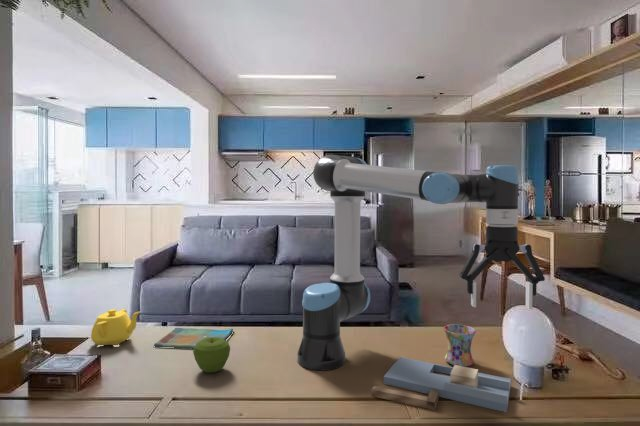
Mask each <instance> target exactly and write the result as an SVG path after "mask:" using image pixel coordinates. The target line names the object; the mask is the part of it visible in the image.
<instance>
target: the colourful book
mask: <svg viewBox="0 0 640 426" xmlns="http://www.w3.org/2000/svg"><path fill="white" fill-rule="evenodd" d="M232 332H234V328H228V329H212V328H191V327H187V328H186V327H175V328H174V329H173V330H171V331H170V332H168V334H166V335H165V336H163V337H162V338H161V339H159V340H158V341H156V342H155V343H154V344H153V347H154V346H155V347H174V348H192V349H191V350H194V347H195V345H196V343H198V342H199V341H201V340H202V339H204V338H208V337H220V338H223V339H224V340H226V339H227V338H228V337H229V336H230V335H231V334H232ZM204 336H206V337H204Z"/></svg>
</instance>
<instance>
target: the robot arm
mask: <svg viewBox="0 0 640 426" xmlns="http://www.w3.org/2000/svg"><path fill="white" fill-rule="evenodd" d="M518 170H519V169H518V167H517V166H515V165H513V164H500V165H499V164H497V165H489V166H487V168H486V171H485V173H480V174H476V173H475V174H459V173H449V172H443V171H428V170H420V169H413V168H412V169H410V168H402V167H392V166H391V167H390V166H381V165H373V164H368V163H366V161H365V160H364V159H362V158H359V157H355V156H349V155H339V154H327V155H324V156H322V157H320V158H319V159H318V160H317V161H316V162H315V164H314V166H313V170H312V172H313V173H312V174H313V179H314V182H315V184H316V185H317V186H318V187H319V188H320V189H322V191H323V190H324V191H327V192H330V193H329V194H330V196H329V197H330V198H331V199H332V200H333V202H334V270H333V271H334V272H333V273H332V274H331V275H330V276H329V282H320V283H314V284H311V285H309V286H307V288H305V289H304V291H303V294H302V301H301V302H302V303H301V305H302V338H301V341H300V344H299V348H298V351H297V364H299V365H300V366H301V367H303V368H306V369H308V370H313V371H328V370H333V369H339V368H340V367H341V366H343V365H345V363H346V350H345V348H344V344H343V342H342V339H341V322H343V321H346V320H348V319H350V318H353V317H357V316H359V315H360V314H361V313H363V312H365V311H366V310H367V308H368V307H369V305H370V302H371V291H370V288H369V287H368V286H367V284H366V282H365V277H364V276H363V274H362V273H361V202H362V201H363V200H364V199H365V197H366V192H367V193H373V194H374V193H375V194H380V195H381V194H382V195H387V196H394V197H395V196H396V197H401V198H406V199H407V198H408V199H414V200H420V201H421V200H422V201H426V202H430V203H433V204H437V205H445V204H457V203H458V204H459V203H485V204H486V205H485V208H486V209H485V210H486V211H485V214H486V215H485V223H486V227H485V243H484V244H478V243H476V242H474V243H472V251H471V252H470V255H469V256H468V258H467V260H466V262H465V264H464V265H463V268H462V269H461V271H460V273H459V277H460V278H461V279H462V280H465V281H466V292H467V293H468V294H469V295H470V305H471V306H472V307H473V308H477V282H476V281H475V280H476V278H477V277H478V276H479V275H480V274H481V273H482V272H483V271H484V270H485V268H486V267H487V266H489V265H490V264H491V263H492V262H493V261H494V262H497V263H500V262H503V263H504V262H506V263H509V262H512V263H513V264H514V265H515V266H516V267H517V268H518V269H519V270H520V272H522V274H523V275H524V277H526V278H527V279H528V281H525V307H526V308H527V309H528V310H533V296H537V284H538V283H540V282H544V281H545V280H546V278H545V276H544V273H543V272H542V270H541V268H540V266H539V263H538V262H537V260H536V258H535V256H534V254H533V250H532V245H531V244H528V243H524V244H522V245H521V244H519V243H518V242H519V241H518V239H519V238H518V236H519V228H518V227H517V226H516V225H518V223H519V216H518V215H519V184H520V182H519V171H518ZM483 250H484V251H485V252H486V254H485V256H483V258H482V260H481V261H480V262H479V263H478V264H477V265H476V266H475V267H474V268H473V269H472V267H473V266H474V264H475V262H476V260H477V258H478V256H479V254H480V253H482V252H483ZM519 252H521V253H523V254H524V256H525V259H526V260H527V262H528V264H529V266H530V268H531V270H532V272H533V273H534V274H532V272H531V271H530V270H529V269H528V268H527V267H526V266H525V264H523V262H522V261H521V260H520V258H518V256H517V254H518V253H519ZM471 269H472V271H471ZM534 275H535V276H534Z"/></svg>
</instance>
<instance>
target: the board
mask: <svg viewBox="0 0 640 426" xmlns="http://www.w3.org/2000/svg"><path fill="white" fill-rule="evenodd" d="M453 367H454V366H453ZM453 367H452V366H447V365H443V364H438V363H437V364H436V363H431V362H426V361H422V360H417V359H412V358H407V357H401V356H399V358H398V359H397V360H396V361H395V362H394V364H393V365H392V366H391V367H390V368H389V369H388V371H386V373H385V375H384V376H383V384H384V385H388V386H393V387H396V388H401V389H405V390H410V391H414V392H418V393H422V394H426V395H429V393H430V391H431V390H434V391H439V398H440V397H441V398H444V399H448V400H452V401H457V402H459V403H464V404H469V405H473V406H477V407H481V408H486V409H490V410H494V411H499V412H502V411H504V412H503V413H506V412H507V413H508V406H509V401H510V393H511V387H512V378H508V377H504V376H503V377H502V376H497V375H492V374H488V373H482V372H478V385H477V388H473V387H469V386H464V385H460V384H455V383H450V373H451V371H452V369H453ZM434 372H437V373H434ZM438 373H440V374H438ZM441 373H442V374H441ZM443 374H447V375H443ZM448 375H449V376H448Z"/></svg>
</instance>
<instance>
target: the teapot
mask: <svg viewBox="0 0 640 426" xmlns="http://www.w3.org/2000/svg"><path fill="white" fill-rule="evenodd" d="M140 313H141V311H136V312H134V313H133V314H132V316H131V318H130V316H129V314H128V313H127V309H125V308H122V309H120V310H118V311H117V309H114V308H113V309H108V310H107V312H103V313H102V314H100V315H98V317H97V318H96V320H95V322H94V323H93V326H92V328H91V334H90V339H91V341H92V342H93V343H94V344H95V345H104V346H105V345H106V346H107V345H112V346H113V345H118V344H120V345H121V343H123V342H126V341H125V340H127V339H129V338H131V336H132V335H133V332H134V330H135V329H136V327H137V317H138V315H139V314H140Z"/></svg>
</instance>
